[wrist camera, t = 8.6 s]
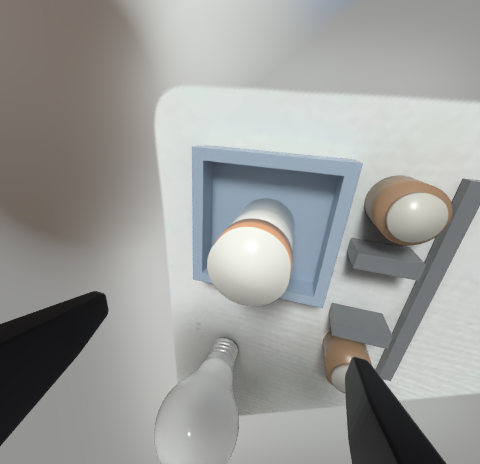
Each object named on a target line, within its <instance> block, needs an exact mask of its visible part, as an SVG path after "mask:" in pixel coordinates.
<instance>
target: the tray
mask: <svg viewBox="0 0 480 464" xmlns="http://www.w3.org/2000/svg"><path fill="white" fill-rule="evenodd" d="M361 168H362V163H360V162H358V161H356V160H352V159H342V158H331V157H321V156H311V155H300V154H290V153H280V152H269V151H259V150H249V149H238V148H228V147H218V146H207V145H205V146H194V147H192V202H193V279H194V280H198V281H203V282H207V283H212V281H211V279H210V277H209V274H208V269H207V259H208V255H209V252H210V250H211V248H212V247H213V246H214V244H215V242H216V241H217V239H218V238H219V237H220V236H221V234H222V233H223V232H224V231H225V230H226V229H227V228H228V227H229V226H230V225H231V224H232V223H233V221H234V220H235V219H236V218H237V217H238V215H239V214H240V213H241V212H242V211H243V209H244V208H245V207H246V206H247V205H248V204H249V203H251V202H252V201H254V200H257V199H261V198H270V199H275V200H277V201H279V202H281V203H283V204H284V205H285V206H286V207H287V208H288V209H289V210H290V211H291V213H292V215H293V218H294V222H295V230H294V240H293V250H292V252H293V259H292V269H291V275H290V279H289V284H288V286H287V289H286V290H285V292H284V293H283V294H282V295H281V297H279V299H284V300H288V301H293V302H297V303H302V304H306V305H311V306H315V307H320V308H323V305H324V302H325V298H326V294H327V291H328V287H329V284H330V280H331V276H332V273H333V269H334V266H335V262H336V258H337V255H338V251H339V248H340V244H341V240H342V237H343V233H344V229H345V226H346V222H347V219H348V215H349V211H350V208H351V204H352V201H353V197H354V193H355V190H356V186H357V182H358V179H359V175H360V172H361ZM212 284H213V283H212Z"/></svg>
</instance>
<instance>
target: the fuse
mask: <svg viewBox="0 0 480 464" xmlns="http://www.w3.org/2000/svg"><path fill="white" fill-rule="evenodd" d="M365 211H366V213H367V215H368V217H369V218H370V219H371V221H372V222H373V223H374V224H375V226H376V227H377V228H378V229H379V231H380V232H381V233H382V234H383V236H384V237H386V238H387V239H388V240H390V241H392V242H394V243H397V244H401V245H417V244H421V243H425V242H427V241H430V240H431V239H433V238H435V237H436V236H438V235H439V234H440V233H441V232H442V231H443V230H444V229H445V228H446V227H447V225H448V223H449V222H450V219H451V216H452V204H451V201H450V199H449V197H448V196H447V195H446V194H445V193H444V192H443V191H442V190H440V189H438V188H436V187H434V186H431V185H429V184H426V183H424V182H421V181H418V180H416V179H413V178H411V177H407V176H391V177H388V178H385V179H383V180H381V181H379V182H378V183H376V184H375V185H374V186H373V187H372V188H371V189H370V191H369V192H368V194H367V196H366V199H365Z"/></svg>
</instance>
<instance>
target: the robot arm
mask: <svg viewBox="0 0 480 464" xmlns="http://www.w3.org/2000/svg"><path fill="white" fill-rule="evenodd" d="M107 314H108V305H107V300H106V295H105V294H104V293H101V292H97V291H93V292H90V293H87V294H84V295H82V296H79V297H76V298H73V299H70V300H67V301H64V302H62V303H59V304H56V305H53V306H50V307H47V308H45V309H42V310H39V311H36V312H33V313H31V314H28V315H25V316H22V317H19V318H16V319H13V320H11V321H8V322H5V323H2V324H0V446H1V445H2V444H3V442H4V441H5V440H6V439H7V438H8V437H9V435H10V434H11V433H12V432H13V431H14V430H15V428H16V427H17V426H18V425H19V424H20V422H21V421H22V420H23V419H24V418H25V416H26V415H27V414H28V413H29V412H30V411H31V410H32V409H33V407H34V406H35V405H36V404H37V403H38V401H39V400H40V399H41V398H42V397H43V396H44V394H45V393H46V392H47V391H48V390H49V389H50V387H51V386H52V385H53V384H54V383H55V382H56V380H57V379H58V378H59V377H60V376H61V374H62V373H63V372H64V371H65V370H66V369H67V367H68V366H69V365H70V364H71V363H72V362H73V361H74V359H75V358H76V357H77V356H78V354H79V353H80V352H81V351H82V349H83V348H84V347H85V345H86V344H87V343H88V341H89V339H90V338H91V337H92V335H93V334H94V333H95V331H96V330H97V329H98V327H99V326H100V324H101V323H102V322H103V320H104V319H105V318H106V316H107ZM345 393H346V409H347V425H348V439H349V446H350V453H351V459H352V464H446V462H445V461H444V460H443V458H442V457H441V456H440V455H439V453H438V452H437V451H436V449H435V448H434V447H433V445H432V444H431V443H430V442H429V440H428V439H427V438H426V436H425V435H424V434H423V433H422V431H421V430H420V429H419V427H418V426H417V424H416V423H415V422H414V420H413V419H412V418H411V416H410V415H409V414H408V413H407V411H406V410H405V409H404V407H403V406H402V405H401V403H400V402H399V401H398V399H397V398H396V397H395V395H394V394H393V393H392V392H391V390H390V389H389V388H388V386H387V385H386V384H385V382H384V381H383V380H382V378H381V377H380V376H379V374H378V373H377V372H376V371H375V369H374V368H373V367H372V365H371V364H370V363H369V362H368V361H367V360H365V359H362V358H358V357H353V358H352V359H351V361H350V364H349V366H348V369H347V371H346V374H345Z"/></svg>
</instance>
